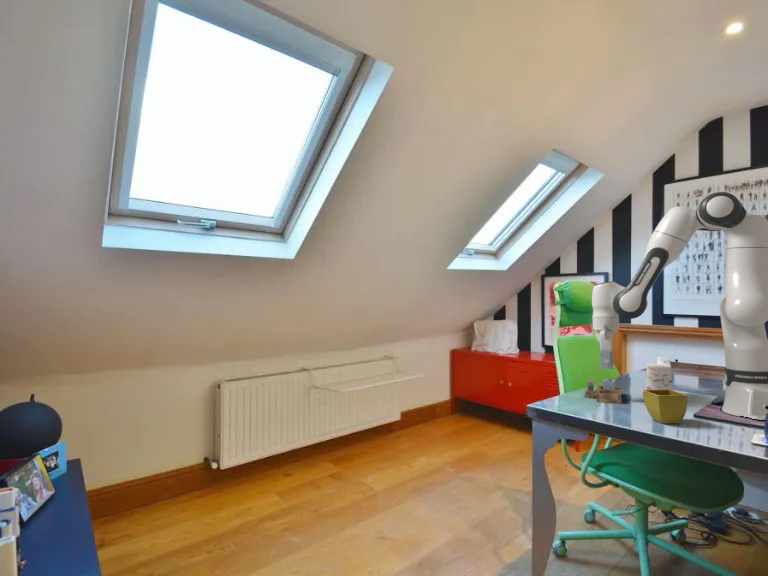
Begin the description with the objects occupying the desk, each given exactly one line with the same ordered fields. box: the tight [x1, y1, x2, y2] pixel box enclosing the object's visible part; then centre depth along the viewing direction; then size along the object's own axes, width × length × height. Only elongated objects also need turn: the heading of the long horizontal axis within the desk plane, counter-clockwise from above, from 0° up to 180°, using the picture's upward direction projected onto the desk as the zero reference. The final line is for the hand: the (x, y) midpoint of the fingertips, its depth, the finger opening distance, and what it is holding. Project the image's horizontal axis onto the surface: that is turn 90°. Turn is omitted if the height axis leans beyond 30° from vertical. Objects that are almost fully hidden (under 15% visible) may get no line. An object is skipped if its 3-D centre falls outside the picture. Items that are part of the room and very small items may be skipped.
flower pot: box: [642, 389, 689, 425], centre depth 130 cm, size 9×9×9 cm
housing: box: [584, 384, 622, 405], centre depth 164 cm, size 12×18×3 cm
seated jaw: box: [602, 378, 616, 390], centre depth 166 cm, size 4×4×6 cm
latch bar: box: [587, 378, 595, 392], centre depth 171 cm, size 2×6×6 cm, turn 151°
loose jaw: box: [599, 351, 614, 370], centre depth 159 cm, size 4×4×6 cm
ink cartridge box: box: [645, 355, 673, 390], centre depth 164 cm, size 9×5×15 cm, turn 179°
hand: (607, 361), depth 159 cm, fingers closed on loose jaw, 4 cm apart
